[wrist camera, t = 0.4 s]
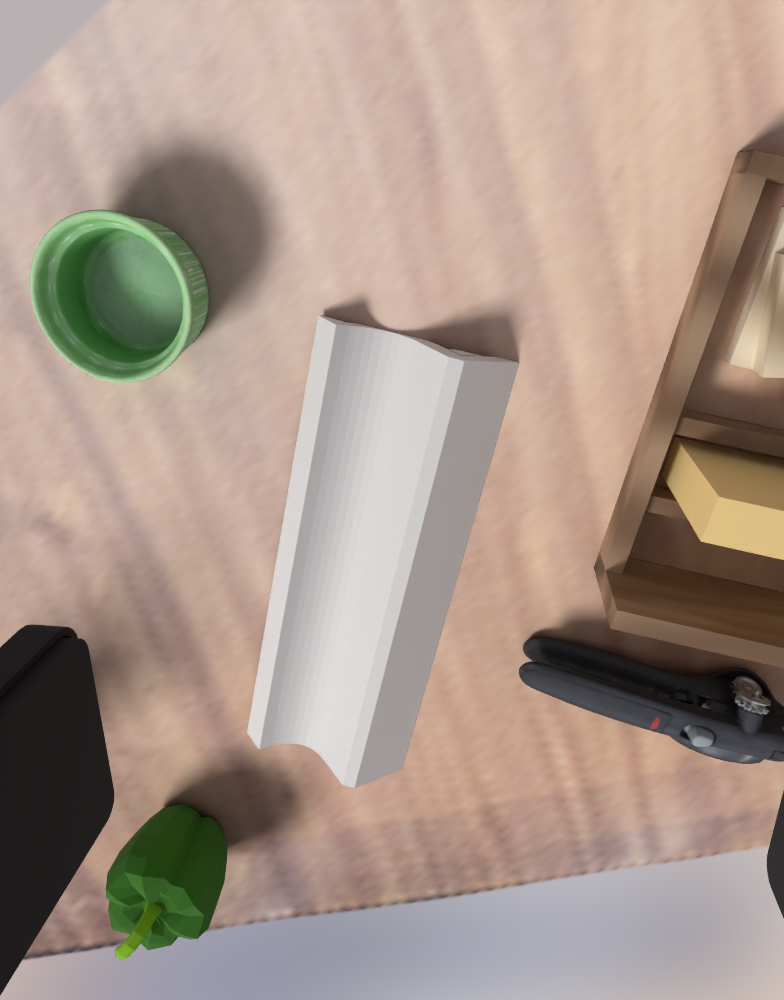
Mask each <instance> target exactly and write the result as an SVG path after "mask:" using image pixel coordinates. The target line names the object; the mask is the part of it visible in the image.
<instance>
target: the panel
mask: <svg viewBox="0 0 784 1000" xmlns="http://www.w3.org/2000/svg"><path fill="white" fill-rule="evenodd" d="M662 476H663V478H664V479H665V481H666V483H667V484H668V486H669V488H670V490H671V491H672V493H673V495H674V496H675V498H676V500H677V502H678V503H679V505H680V507H681V508H682V510H683V512H684V514H685V515H686V517H687V519H688V521H689V522H690V524H691V526H692V527H693V529H694V531H695V533H696V534H697V536H698V538H699V539H700V541H701V542H705V543H710V544H714V545H719V546H723V547H728V548H732V549H736V550H741V551H745V552H750V553H754V554H759V555H763V556H768V557H772V558H777V559H781V560H784V461H783V460H779V459H774V458H769V457H765V456H760V455H756V454H751V453H746V452H742V451H737V450H733V449H728V448H724V447H719V446H714V445H710V444H705V443H701V442H696V441H691V440H687V439H682V438H678V437H676V438H675V440H674V443H673V446H672V449H671V451H670V454H669V457H668V459H667V462H666V465H665V468H664V470H663V473H662Z"/></svg>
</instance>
